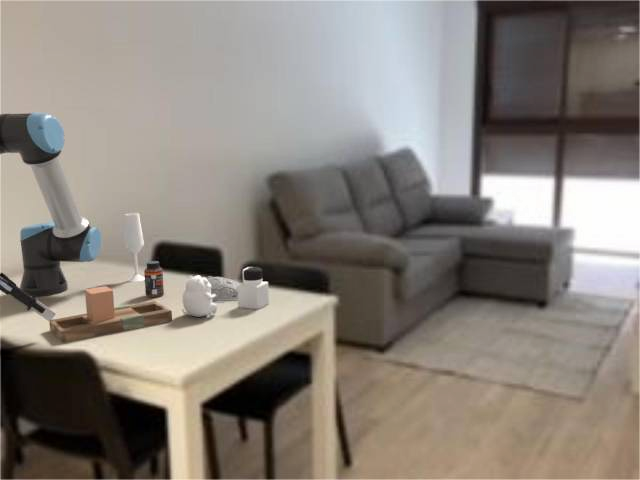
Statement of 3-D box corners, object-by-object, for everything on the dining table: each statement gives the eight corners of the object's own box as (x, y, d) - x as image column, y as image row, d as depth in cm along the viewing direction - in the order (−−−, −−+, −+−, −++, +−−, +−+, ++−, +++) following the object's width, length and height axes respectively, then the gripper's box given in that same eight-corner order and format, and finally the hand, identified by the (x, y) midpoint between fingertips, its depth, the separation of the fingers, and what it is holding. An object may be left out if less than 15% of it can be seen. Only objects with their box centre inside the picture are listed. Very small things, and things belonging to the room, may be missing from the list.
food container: (224, 305, 215) (224, 283, 214) (179, 294, 233) (179, 275, 232) (262, 299, 226) (262, 279, 225) (216, 290, 243) (217, 271, 243)
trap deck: (50, 330, 194) (49, 319, 193) (155, 310, 211) (154, 300, 211) (62, 342, 183) (61, 331, 183) (172, 320, 201) (171, 310, 200)
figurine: (187, 322, 199) (185, 282, 197) (178, 313, 208) (175, 275, 205) (220, 317, 204) (218, 277, 201) (209, 309, 212) (207, 271, 210)
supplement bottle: (159, 298, 225) (157, 264, 223) (142, 297, 226) (140, 263, 224) (167, 293, 231) (164, 260, 229) (150, 292, 232) (148, 259, 230)
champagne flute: (143, 281, 247) (139, 215, 243) (125, 281, 247) (120, 215, 243) (148, 277, 254) (144, 212, 249) (130, 277, 254) (125, 212, 249)
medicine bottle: (269, 303, 216) (268, 266, 214) (257, 309, 210) (256, 271, 208) (249, 301, 219) (248, 264, 217) (237, 307, 213) (236, 269, 211)
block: (87, 316, 196) (84, 289, 194) (108, 313, 199) (105, 286, 198) (93, 321, 191) (91, 294, 190) (114, 317, 194) (112, 290, 193)
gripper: (-37, 272, 179) (37, 322, 192) (-29, 282, 169) (49, 334, 181) (-17, 250, 181) (55, 300, 194) (-8, 258, 171) (67, 311, 183)
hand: (52, 317), depth 187 cm, fingers closed
